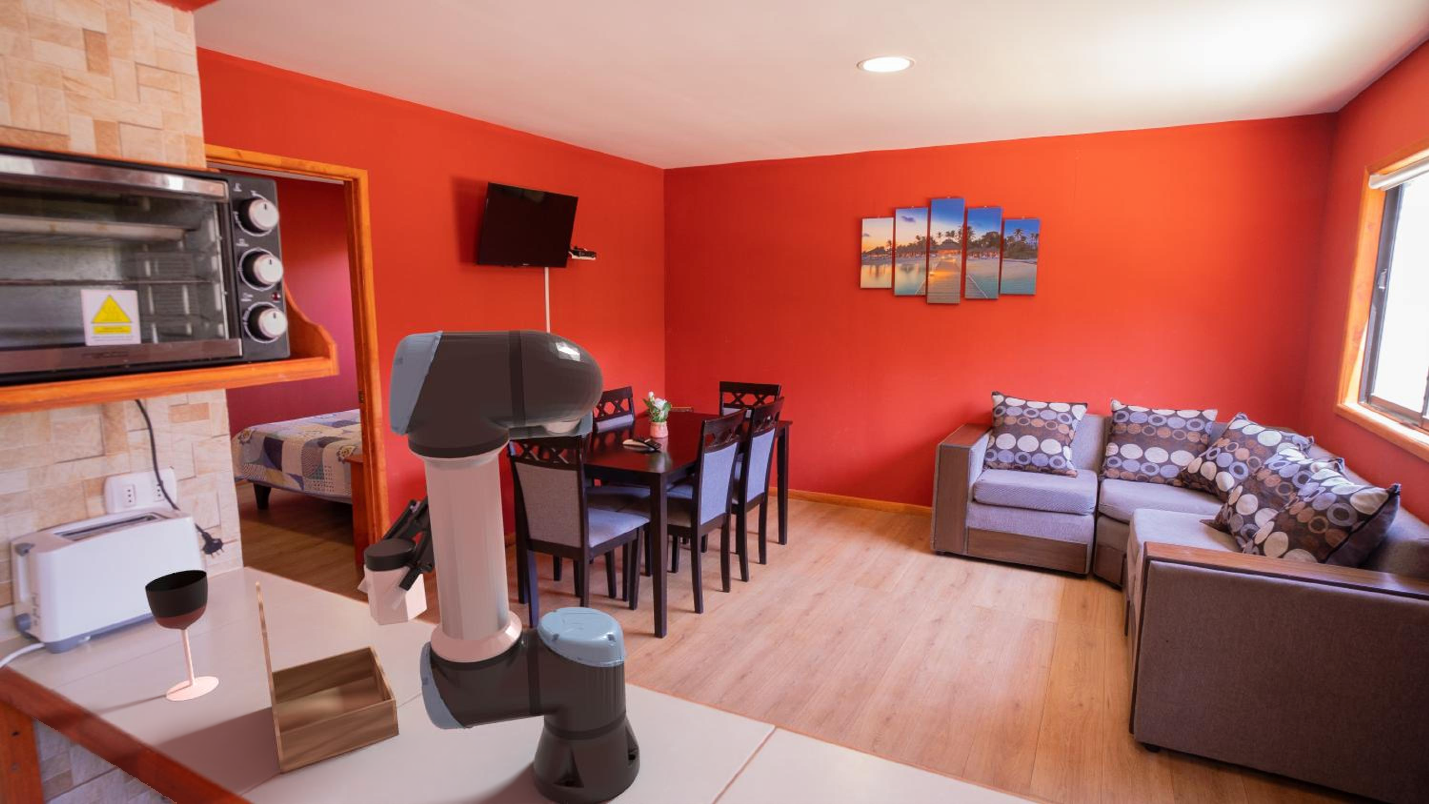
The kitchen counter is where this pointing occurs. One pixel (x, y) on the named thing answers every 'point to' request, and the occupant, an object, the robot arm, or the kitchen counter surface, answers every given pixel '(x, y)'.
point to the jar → (392, 580)
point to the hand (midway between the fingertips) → (375, 598)
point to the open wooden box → (328, 704)
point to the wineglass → (181, 620)
